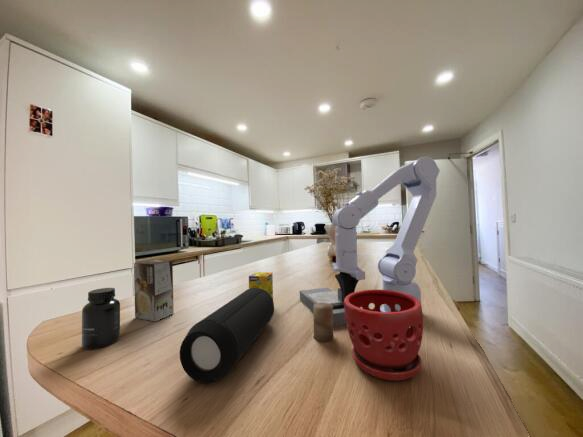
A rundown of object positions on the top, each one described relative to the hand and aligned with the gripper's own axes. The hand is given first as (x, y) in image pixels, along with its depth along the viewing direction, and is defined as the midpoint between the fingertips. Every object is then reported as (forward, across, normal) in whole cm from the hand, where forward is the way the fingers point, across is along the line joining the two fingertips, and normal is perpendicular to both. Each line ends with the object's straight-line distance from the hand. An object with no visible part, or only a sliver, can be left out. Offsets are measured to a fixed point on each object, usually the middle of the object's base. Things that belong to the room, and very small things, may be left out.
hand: (348, 300), depth 64 cm
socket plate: (+4, -7, -3) cm, 9 cm away
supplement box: (+5, -14, -22) cm, 26 cm away
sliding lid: (+1, -6, -3) cm, 7 cm away
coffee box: (+5, -20, -53) cm, 57 cm away
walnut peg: (+4, +8, -11) cm, 14 cm away
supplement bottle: (+5, -6, -60) cm, 60 cm away
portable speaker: (+5, +6, -30) cm, 31 cm away
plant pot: (+5, +21, -5) cm, 22 cm away
